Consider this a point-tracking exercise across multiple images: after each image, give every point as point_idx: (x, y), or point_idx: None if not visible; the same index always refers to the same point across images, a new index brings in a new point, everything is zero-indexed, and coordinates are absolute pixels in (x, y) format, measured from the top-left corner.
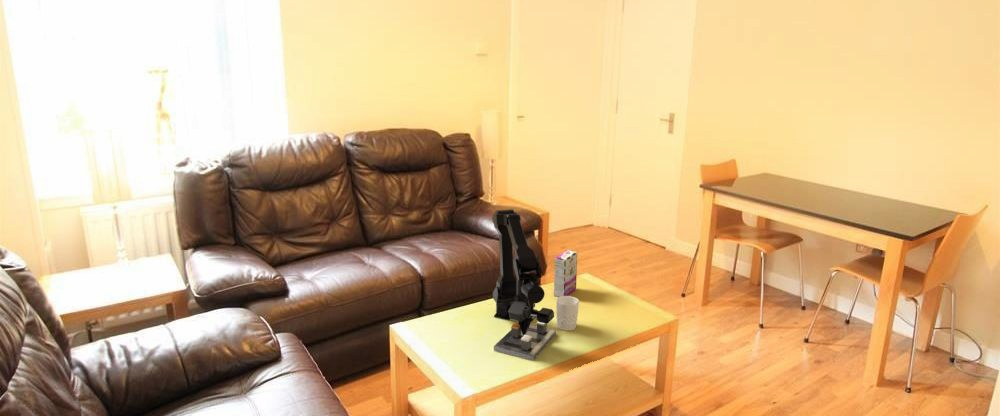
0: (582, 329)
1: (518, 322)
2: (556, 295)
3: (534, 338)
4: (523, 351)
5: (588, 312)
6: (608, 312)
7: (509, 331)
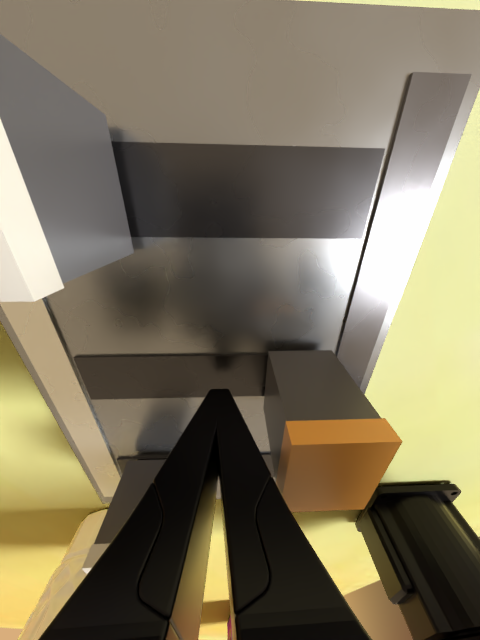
0: (56, 531)
1: (317, 574)
2: None
3: (145, 396)
4: None
5: None
6: None
7: None
